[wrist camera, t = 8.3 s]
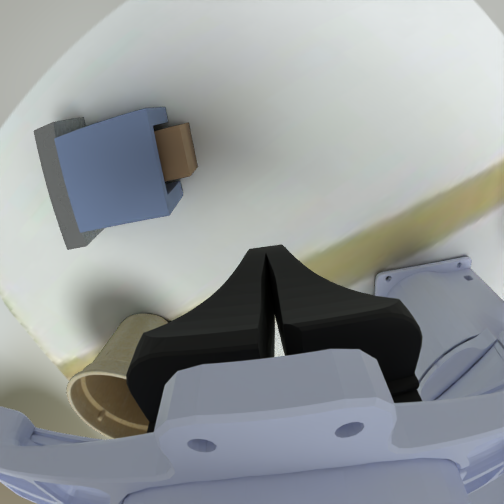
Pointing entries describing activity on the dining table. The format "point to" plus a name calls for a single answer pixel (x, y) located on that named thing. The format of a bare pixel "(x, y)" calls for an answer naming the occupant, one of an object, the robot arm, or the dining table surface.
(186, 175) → the walnut peg
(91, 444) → the robot arm
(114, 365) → the flower pot
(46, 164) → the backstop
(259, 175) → the dining table surface
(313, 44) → the dining table surface
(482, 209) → the dining table surface
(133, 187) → the socket block
